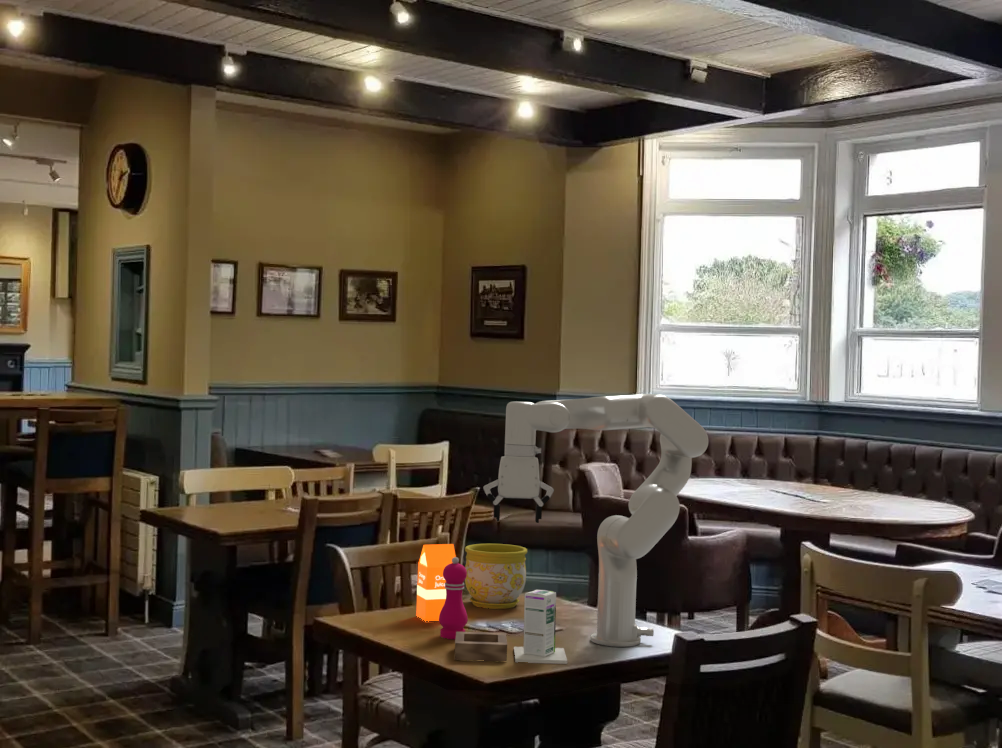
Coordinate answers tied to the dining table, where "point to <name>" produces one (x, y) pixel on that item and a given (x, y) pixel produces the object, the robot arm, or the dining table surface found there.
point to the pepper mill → (453, 601)
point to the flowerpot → (495, 574)
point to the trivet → (553, 658)
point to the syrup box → (539, 623)
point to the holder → (481, 646)
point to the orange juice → (432, 580)
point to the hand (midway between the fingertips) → (517, 521)
